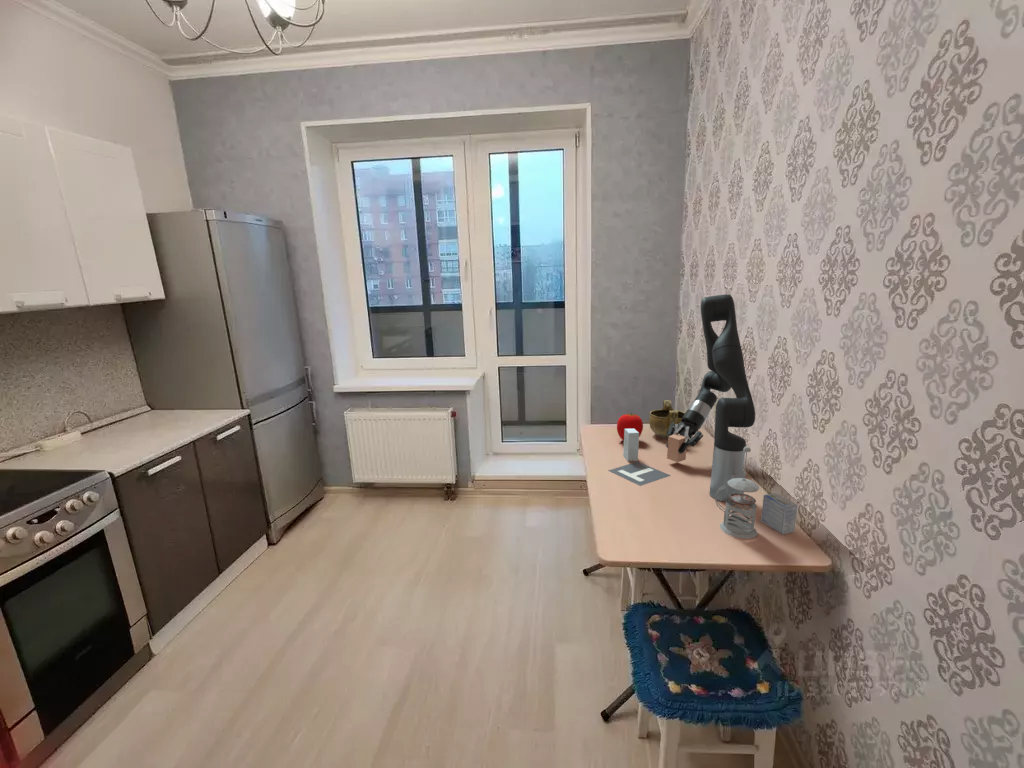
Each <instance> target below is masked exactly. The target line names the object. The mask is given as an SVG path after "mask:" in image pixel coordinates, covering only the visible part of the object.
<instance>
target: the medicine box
mask: <svg viewBox="0 0 1024 768" xmlns="http://www.w3.org/2000/svg"><path fill="white" fill-rule="evenodd" d="M797 512H798V504H797V503H795V502H794V501H792V500H790V499H787V498H786V497H784V496H782V495H780V494H778V493H775V492H774V493H767V494H763V498H762V509H761V517H760V518H761V519H760V522H761V523H763V524H765V525H766V526H768V527H770V528H771V529H772V530H775V531H776V532H778V533H780V535H787V534H791V533H795V529H796V522H797Z"/></svg>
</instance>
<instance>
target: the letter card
mask: <svg viewBox="0 0 1024 768" xmlns="http://www.w3.org/2000/svg"><path fill="white" fill-rule="evenodd" d="M607 471H608V472H610V473H611V474H614V475H616V476H618V477H620V478H623V479H624V480H626V481H629V482H631V483H633V484H636V485H637V486H640V487H641V486H645V485H648V484H651V483H654V482H657V481H659V480H662V479H665V478H669V477H671V476H672V475H671V474H668V473H666V472H664V471H661V470H659V469H657V468H655V467H651V466H649V465H647V464H645V463H642V462H641V461H634V462H631V463H628V464H626V465H622V466H619V467H615V468H612V469H608V470H607Z"/></svg>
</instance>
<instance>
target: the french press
mask: <svg viewBox="0 0 1024 768" xmlns="http://www.w3.org/2000/svg"><path fill="white" fill-rule="evenodd" d="M743 451H745V458H744V468H743V471H744V476H745V472H746V466H747V456H748V453H751V451H752V449H751V448H750V447H749V446H746V447H744V448H743ZM728 485H729V486H730V487H731V488H733V489H735V490H738V491H742V493H731V494H729V495H728V499H727V501H726V502H725V504H726V505H725V507H723V506H722V505H721V504H720V503H719V500H717V494H718V492H719V491H720V490H722V489H725V488H726V487H725V486H727V485H725V486H722V487H725V488H722V487H720V488H719V489H718V491H717V493H716V499H715V498H714V500H715V504H716V507H718V509H719V510H721V511H722V512H723V513H724V515H723V521H722V522H721V524H719V528H720V529H721V531H722V532H723V533H724V534H727V535H728V536H731V537H734V538H737V539H738V538H739V539H743V540H746V539H748V540H749V539H753V538H756V537H757V536H758V535H759V534H758V530H757V529H756V528H755V523H756V516H757V515H756V514H757V504H756V502H757V500H756V499H755V498H754V497H753V496H752V495H751V494H750V495H749V494H746V493H757V492H758V491H759V489H760V486H759V485H758V484H757V483H756V482H754V481H753V480H751V479H748V478H746V476H745V478H734V479H731V480H729V481H728ZM721 488H722V489H721ZM726 489H727V492H728V486H727V488H726ZM743 492H744V494H743ZM731 502H734V503H731ZM742 507H743V508H742ZM748 507H749V508H750V509H749V508H748Z"/></svg>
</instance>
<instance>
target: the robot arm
mask: <svg viewBox="0 0 1024 768" xmlns="http://www.w3.org/2000/svg"><path fill="white" fill-rule="evenodd" d="M735 306H736V305H735V300H734V298H733V296H732V295H731V294H727V293H726V294H718V295H711V296H704V297H703V298H702V299H701V301H700V316H701V317H700V318H701V322H702V331H703V335H704V340H705V344H706V345H705V346H706V363H707V368H708V369H709V371H707V373H705V374H704V376H703V379H702V383H701V386H700V388H699V389H700V390H699V392H698V394H697V396H696V397H695V399H694V400H693V402H691V403H690V405H689V407H688V408H687V410H686V411H685V414H684V416H683V417H682V420H681V422H680V423H679V424H674V423H671V425H670V428H669V431H668V434H667V435H668V436H671V435H677V434H678V433H679V435H682V436H684V437H685V440H684V443H682V445H681V446H680V448H679V449H678V452H679V453H681V454H682V453H683V452H684V451H685V450H686V451H687V448H688V447H689V446H690V447H695V445H696V444H697V443H698V442H699V441H701V439H702V438H703V437H704V434H703V432H701V431H699V430H700V429H701V428H702V427H703V425H704V423H705V421H706V420H707V418H708V417H709V415H710V412H711V410H712V409H713V408H714V406H715V414H714V415H715V417H714V419H715V420H714V421H715V422H714V434H713V435H714V436H713V437H714V441H713V442H714V443H713V450H712V462H711V463H712V465H711V475H710V484H709V485H710V486H709V495H710V497H712V498H713V499H714V500H715V499H716V493H717V491H718V489H719V488H720V487H722V486H725V485H727V486H728V492H727V489H726V488H727V486H725V487H726V488H725V487H722V488H725V489H722V488H721V489H722V490H720V491H719V492H718V494H717V500H718V501H719V502H724V503H726V501H727V499H728V495H729V494H731V493H742V491H738V490H735V489H733V488H731V487H730V486H729V485H728V481H729V480H731V479H734V478H745V479H746V476H747V474H746V473H747V472H746V471H745V476H744V468H745V459H746V452H745V451H743V448H744V447H747V441H746V439H745V438H744V437H742V436H740V435H737V434H735V433H732V432H730V431H729V428H751V427H753V425H754V424H755V422H756V410H755V409H756V408H755V404H754V401H753V397H752V393H751V391H750V387H749V382H748V379H747V373H746V367H745V363H744V355H743V354H744V353H743V350H742V345H741V341H740V337H739V332H738V324H737V323H738V322H737V317H736V316H737V315H736V307H735ZM721 321H722V322H723V321H724V322H725V323H724V327H723V329H722V331H721V333H720V334H719V335H718V334H717V333H716V332H715V329H714V328H713V326H712V323H713V322H714V323H715V322H721ZM731 389H732V390H733V392H734V395H735V397H720V398H718V396H717V395H716V394H715V393H714V392H712V391H711V390H714V391H716V392H717V391H718V392H720V393H727V392H729V391H730V390H731ZM677 428H678V429H677ZM675 430H676V431H675ZM665 445H666V448H667V449H668V441H666V444H665ZM743 494H745V492H743ZM717 500H716V501H717ZM732 503H734V502H731V504H732Z"/></svg>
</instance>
